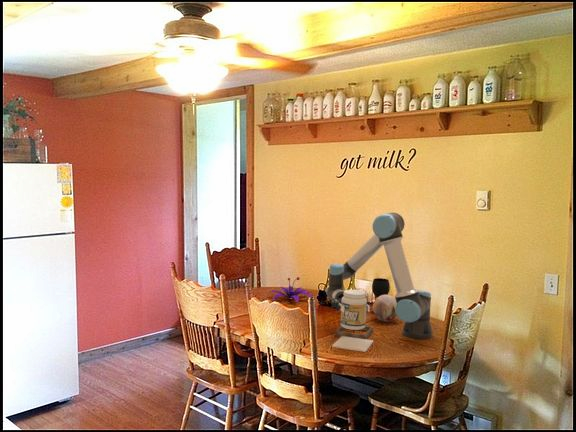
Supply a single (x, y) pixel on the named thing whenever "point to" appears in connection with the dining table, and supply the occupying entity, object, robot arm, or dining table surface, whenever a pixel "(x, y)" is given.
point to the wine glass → (380, 287)
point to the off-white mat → (353, 343)
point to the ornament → (385, 308)
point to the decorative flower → (291, 292)
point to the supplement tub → (354, 310)
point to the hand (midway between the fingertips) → (356, 309)
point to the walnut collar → (354, 335)
